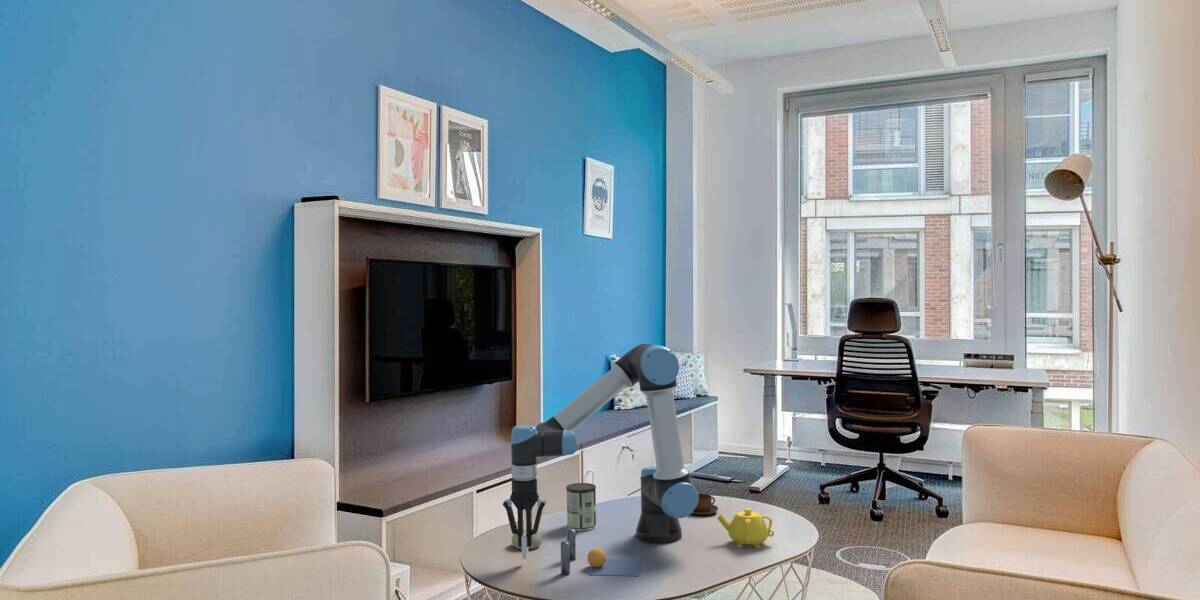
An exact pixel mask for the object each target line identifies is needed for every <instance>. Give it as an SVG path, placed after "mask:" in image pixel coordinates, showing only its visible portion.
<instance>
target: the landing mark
mask: <svg viewBox="0 0 1200 600" xmlns="http://www.w3.org/2000/svg"><path fill="white" fill-rule="evenodd" d="M641 561H642V560H641V558H640V559H639V558H634V559H633V558H607V557H606V561H605V563H604V565H603V566H601V567H599V568H595V567H592V566H591V568H590V571H589V576H607V577H608V576H610V577H611V576H612V577H613V576H614V577H615V576H616V577H639V575H638V574H639V573H640V568H639V567H641Z"/></svg>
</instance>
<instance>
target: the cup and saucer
mask: <svg viewBox="0 0 1200 600" xmlns="http://www.w3.org/2000/svg"><path fill="white" fill-rule="evenodd" d="M712 500H713V501H712ZM715 502H716V498H715V497H714V496H712V495H710V494H707V493H698V504H697V506H696V508H695V509H694V511H693V512H692V513H691V514H693V515H695V516H696V515H697V516H708V515H713V514H715V513H717V512H718V510H719V507H718V506H717V505H714V504H715Z"/></svg>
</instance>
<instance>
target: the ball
mask: <svg viewBox="0 0 1200 600" xmlns="http://www.w3.org/2000/svg"><path fill="white" fill-rule="evenodd" d="M606 558H607V555H606V553H605V551H604V550H603V549H602V548H600V547H595V548H592V549H590V551H589V552H588V554H587V562H588V564H589V566H591V568H592V567H595V568H599V567H601V566H603V565H604V563H605V561H606Z"/></svg>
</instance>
